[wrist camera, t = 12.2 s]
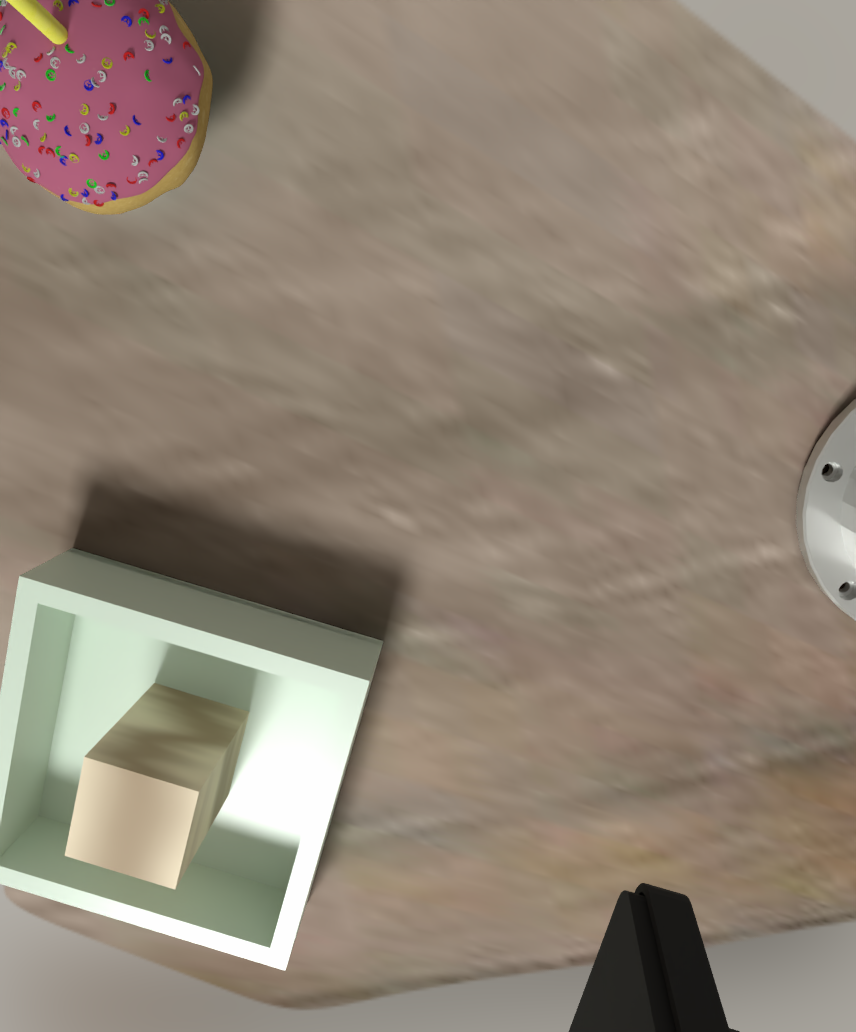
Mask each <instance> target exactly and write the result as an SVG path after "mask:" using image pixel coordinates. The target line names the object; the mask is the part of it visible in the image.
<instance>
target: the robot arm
mask: <svg viewBox="0 0 856 1032" xmlns="http://www.w3.org/2000/svg"><path fill="white" fill-rule="evenodd" d="M826 464H828V465H829V470H828V472H827V473H825V474H822V469H823V467H824V466H825V465H826ZM796 528H797V534H798V541H799V547H800V550H801V552H802V555H803V558H804V560H805V563H806V566H807V568H808V571H809V572H810V574H811V575H812V577H813V578H814V580H815V581H816V583H817V584H818V586H819V588H820V589H821V591H822V592H823V593H824V594H825V595H826V596H827V597H828V598H829V599H830V600H831V601H832V602H833V603H834V604H835V605H836V606H837V607H838V608H839V609H841V610H842V611H843V612H845V613H846V614H847V615H849V616H850V617H851V618H853V619H854V620H855V621H856V399H854V400H853V401H852V402H851V403H850V404H849V405H848V406H847V407H846V408H845V409H844V410H843V411H842V412H841V413H840V414H839V415H838V416H837V417H836V418H835V419H834V420H833V421H832V422H831V424H830V425H829V426H828V428H827V429H826V431H825V432H824V433H823V435H822V436H821V438H820V439H819V440H818V442H817V443H816V445H815V447H814V449H813V451H812V453H811V456H810V458H809V460H808V462H807V464H806V466H805V468H804V471H803V475H802V479H801V483H800V486H799V490H798V494H797V506H796ZM845 582H846V583H845ZM843 583H845V586H844V588H842V589H839V588H840V586H841V585H842V584H843ZM569 1032H739V1031H736V1030H733V1029H730V1028H729V1027H728V1024H727V1021H726V1017H725V1014H724V1011H723V1007H722V1004H721V1001H720V997H719V994H718V991H717V987H716V984H715V981H714V978H713V974H712V971H711V968H710V964H709V961H708V958H707V954H706V951H705V948H704V944H703V941H702V938H701V935H700V931H699V928H698V925H697V921H696V918H695V915H694V911H693V908H692V905H691V902H690V900H689V898H688V897H687V896H686V895H683V894H680V893H676V892H673V891H670V890H666V889H663V888H659V887H656V886H652V885H649V884H645V883H642V884H640V885H639V886H638V887H637V889H636V891H635V893H633V892H629V891H626V890H625V891H623V892H622V893H621V894H620V896H619V898H618V901H617V903H616V906H615V909H614V911H613V914H612V917H611V920H610V922H609V925H608V928H607V930H606V933H605V936H604V938H603V941H602V944H601V946H600V949H599V952H598V954H597V957H596V960H595V963H594V965H593V968H592V971H591V973H590V976H589V979H588V982H587V984H586V987H585V989H584V992H583V995H582V998H581V1000H580V1003H579V1006H578V1008H577V1011H576V1014H575V1016H574V1019H573V1022H572V1024H571V1027H570V1030H569Z"/></svg>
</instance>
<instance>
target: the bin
mask: <svg viewBox="0 0 856 1032" xmlns="http://www.w3.org/2000/svg"><path fill="white" fill-rule="evenodd" d="M382 645H383V641H381V640H378V639H375V638H371V637H368V636H365V635H361V634H358V633H355V632H351V631H348V630H345V629H341V628H338V627H335V626H331V625H328V624H325V623H321V622H318V621H315V620H311V619H308V618H305V617H301V616H298V615H295V614H291V613H288V612H285V611H281V610H278V609H275V608H271V607H268V606H265V605H261V604H258V603H255V602H251V601H248V600H245V599H241V598H238V597H235V596H231V595H228V594H225V593H221V592H218V591H215V590H211V589H208V588H205V587H201V586H198V585H195V584H191V583H188V582H185V581H181V580H178V579H175V578H171V577H168V576H165V575H161V574H158V573H155V572H151V571H148V570H145V569H141V568H138V567H135V566H131V565H128V564H125V563H121V562H118V561H115V560H111V559H108V558H105V557H101V556H98V555H95V554H91V553H88V552H84V551H81V550H78V549H74V548H71V549H70V550H68V551H66V552H64V553H62V554H60V555H58V556H56V557H54V558H52V559H51V560H49V561H47V562H45V563H43V564H41V565H39V566H37V567H35V568H33V569H32V570H30V571H28V572H26V573H24V574H22V575H20V576H19V581H18V587H17V593H16V600H15V606H14V612H13V618H12V624H11V631H10V637H9V643H8V649H7V656H6V662H5V668H4V674H3V681H2V687H1V693H0V884H3V885H6V886H9V887H12V888H16V889H19V890H22V891H26V892H29V893H32V894H35V895H39V896H42V897H45V898H49V899H52V900H55V901H58V902H62V903H65V904H68V905H71V906H75V907H78V908H81V909H85V910H88V911H91V912H94V913H98V914H101V915H104V916H108V917H111V918H114V919H117V920H121V921H124V922H127V923H131V924H134V925H137V926H140V927H144V928H147V929H150V930H154V931H157V932H160V933H163V934H167V935H170V936H173V937H177V938H180V939H183V940H186V941H190V942H193V943H196V944H200V945H203V946H206V947H209V948H213V949H216V950H219V951H223V952H226V953H229V954H232V955H236V956H239V957H242V958H246V959H249V960H252V961H255V962H259V963H262V964H265V965H269V966H272V967H275V968H278V969H282V970H286V967H287V964H288V961H289V958H290V955H291V951H292V948H293V945H294V942H295V939H296V936H297V933H298V930H299V927H300V924H301V920H302V917H303V914H304V911H305V908H306V905H307V901H308V898H309V895H310V891H311V888H312V884H313V881H314V878H315V874H316V871H317V867H318V864H319V860H320V857H321V854H322V850H323V847H324V843H325V840H326V836H327V833H328V830H329V826H330V823H331V819H332V816H333V813H334V809H335V806H336V802H337V799H338V795H339V792H340V789H341V785H342V782H343V778H344V775H345V771H346V768H347V765H348V761H349V758H350V754H351V751H352V748H353V744H354V741H355V737H356V734H357V730H358V727H359V724H360V720H361V717H362V713H363V710H364V706H365V703H366V700H367V696H368V693H369V689H370V686H371V683H372V679H373V676H374V672H375V669H376V665H377V662H378V659H379V655H380V652H381V648H382ZM154 683H157V684H160V685H163V686H166V687H170V688H173V689H176V690H180V691H183V692H186V693H189V694H193V695H196V696H199V697H203V698H206V699H209V700H213V701H216V702H219V703H222V704H226V705H229V706H232V707H236V708H239V709H242V710H245V711H249V716H248V720H247V724H246V728H245V732H244V736H243V740H242V744H241V748H240V751H239V755H238V759H237V763H236V767H235V771H234V775H233V779H232V783H231V787H230V791H229V795H228V797H227V799H226V801H225V802H224V804H223V806H222V808H221V809H220V811H219V813H218V815H217V817H216V818H215V820H214V822H213V824H212V825H211V827H210V829H209V831H208V832H207V834H206V836H205V838H204V840H203V841H202V843H201V845H200V847H199V848H198V850H197V852H196V854H195V856H194V857H193V859H192V861H191V863H190V864H189V866H188V868H187V870H186V872H185V873H184V875H183V877H182V879H181V880H180V882H179V884H178V886H177V887H176V889H171V888H168V887H165V886H162V885H158V884H155V883H152V882H149V881H145V880H142V879H139V878H136V877H132V876H129V875H126V874H122V873H119V872H116V871H113V870H109V869H106V868H103V867H100V866H96V865H93V864H90V863H87V862H83V861H80V860H77V859H73V858H70V857H67V856H65V851H66V846H67V841H68V836H69V831H70V826H71V821H72V816H73V811H74V805H75V800H76V795H77V790H78V785H79V780H80V775H81V770H82V765H83V760H84V756H85V755H86V754H87V753H88V752H89V751H90V750H91V749H92V748H93V747H94V746H95V745H96V744H97V743H98V742H99V741H100V740H101V739H102V737H103V736H104V735H105V734H106V733H107V732H108V731H109V730H110V729H111V728H112V727H113V726H114V725H115V724H116V723H117V722H118V721H119V720H120V719H121V717H122V716H123V715H124V714H125V713H126V712H127V711H128V710H129V709H130V708H131V707H132V706H133V705H134V704H135V703H136V702H137V701H138V700H139V698H140V697H141V696H142V695H143V694H144V693H145V692H146V691H147V690H148V689H149V688H150V687H151V686H152V685H153V684H154Z"/></svg>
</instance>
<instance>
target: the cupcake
mask: <svg viewBox="0 0 856 1032" xmlns="http://www.w3.org/2000/svg"><path fill="white" fill-rule="evenodd" d="M212 86H213V80H212V74H211V70H210V68H209V66H208V63H207V61H206V60H205V58H204V56H203V54H202V52H201V50H200V48H199V46H198V44H197V42H196V40H195V38H194V36H193V34H192V33H191V31H190V29H189V28H188V26H187V25H186V23H185V22H184V20H183V19H182V17H181V16H180V14H179V13H178V12H177V10H176V9H175V8H174V7H173V5H172V4H171V3H170V2H169V1H168V0H1V1H0V144H2V145H3V147H4V148H5V150H6V152H7V153H8V155H9V156H10V158H11V159H12V161H13V162H14V164H15V165H16V166H17V168H18V169H19V170H20V171H21V172H22V173H23V174H24V175H25V176H27V179H28V180H29V181H31V182H34V183H38V184H39V185H40V186H42V187H43V188H44V189H46V190H47V191H49V192H50V193H52V194H53V195H55V196H57V197H58V198H60V199H62V200H63V201H65V202H67V203H69V204H70V205H72V206H74V207H76V208H79V209H81V210H84V211H87V212H91V213H95V214H120V213H124V212H127V211H130V210H133V209H136V208H139V207H141V206H144V205H146V204H148V203H149V202H151V201H153V200H154V199H155V198H157V197H158V196H160V195H162V194H163V193H165V192H167V191H170V190H172V189H175V188H177V187H179V186H181V185H182V184H183V183H184V182H185V181H186V179H187V178H188V176H189V175H190V174H191V172H192V171H193V169H194V168H195V166H196V164H197V162H198V159H199V157H200V154H201V151H202V148H203V145H204V141H205V137H206V131H207V125H208V119H209V112H210V104H211V96H212Z"/></svg>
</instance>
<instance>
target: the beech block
mask: <svg viewBox="0 0 856 1032" xmlns="http://www.w3.org/2000/svg"><path fill="white" fill-rule="evenodd" d="M248 716H249V711H245V710H242V709H239V708H236V707H232V706H229V705H226V704H222V703H219V702H216V701H213V700H209V699H206V698H203V697H199V696H196V695H193V694H189V693H186V692H183V691H180V690H176V689H173V688H170V687H166V686H163V685H160V684H157V683H154V684H153V685H152V686H151V687H150V688H149V689H148V690H147V691H146V692H145V693H144V694H143V695H142V696H141V697H140V698H139V700H138V701H137V702H136V703H135V704H134V705H133V706H132V707H131V708H130V709H129V710H128V711H127V712H126V713H125V714H124V715H123V716H122V717H121V719H120V720H119V721H118V722H117V723H116V724H115V725H114V726H113V727H112V728H111V729H110V730H109V731H108V732H107V733H106V734H105V735H104V736H103V737H102V739H101V740H100V741H99V742H98V743H97V744H96V745H95V746H94V747H93V748H92V749H91V750H90V751H89V752H88V753H87V754H86V755H85V756H84V760H83V765H82V770H81V775H80V780H79V785H78V790H77V795H76V800H75V805H74V811H73V816H72V821H71V826H70V831H69V836H68V841H67V846H66V851H65V856H67V857H70V858H73V859H77V860H80V861H83V862H87V863H90V864H93V865H96V866H100V867H103V868H106V869H109V870H113V871H116V872H119V873H122V874H126V875H129V876H132V877H136V878H139V879H142V880H145V881H149V882H152V883H155V884H158V885H162V886H165V887H168V888H171V889H176V887H177V886H178V884H179V882H180V880H181V879H182V877H183V875H184V873H185V872H186V870H187V868H188V866H189V864H190V863H191V861H192V859H193V857H194V856H195V854H196V852H197V850H198V848H199V847H200V845H201V843H202V841H203V840H204V838H205V836H206V834H207V832H208V831H209V829H210V827H211V825H212V824H213V822H214V820H215V818H216V817H217V815H218V813H219V811H220V809H221V808H222V806H223V804H224V802H225V801H226V799H227V797H228V795H229V791H230V787H231V783H232V779H233V775H234V771H235V767H236V763H237V759H238V755H239V751H240V748H241V744H242V740H243V736H244V732H245V728H246V724H247V720H248Z"/></svg>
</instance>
